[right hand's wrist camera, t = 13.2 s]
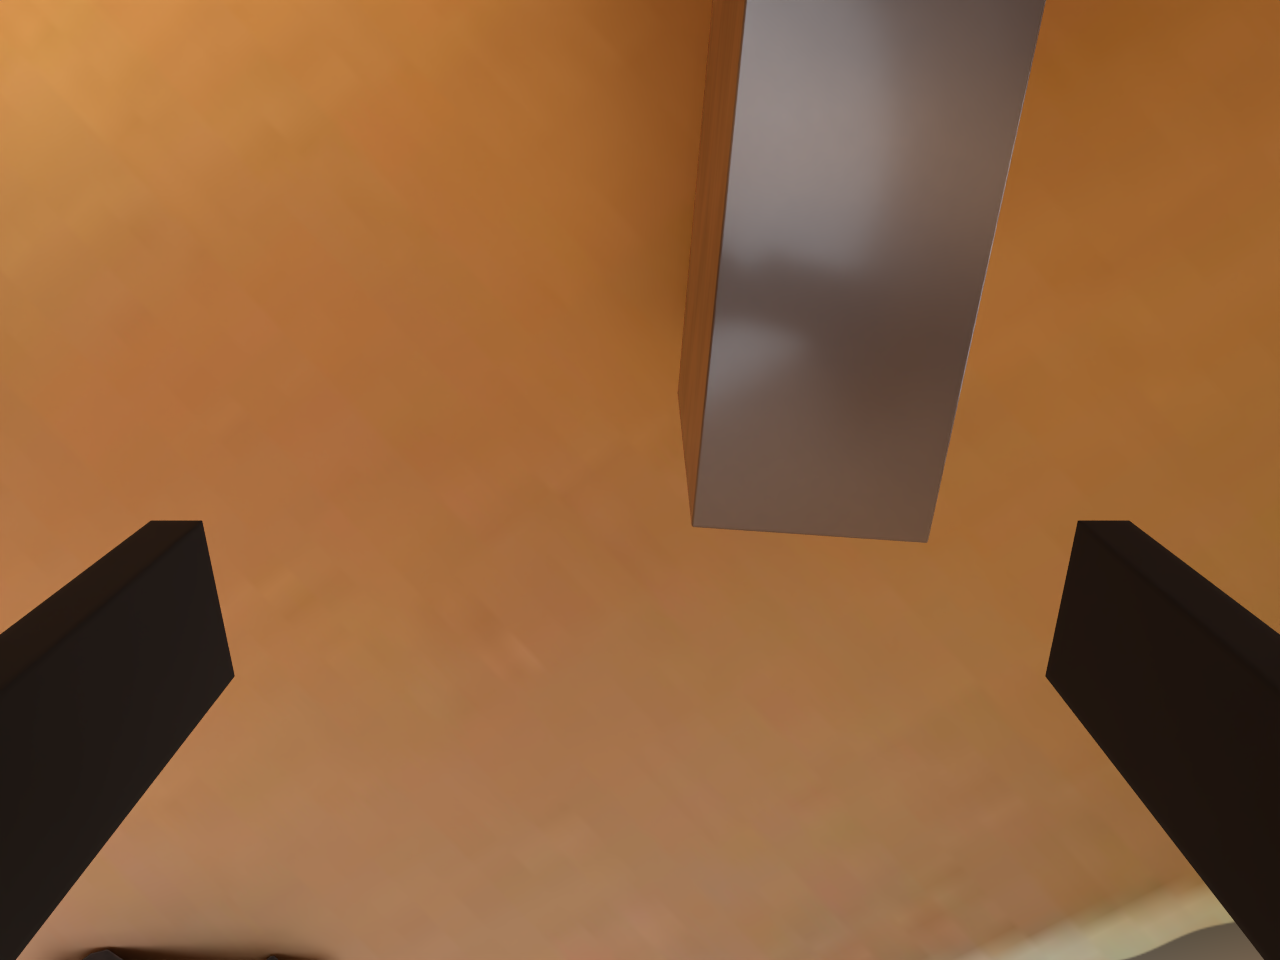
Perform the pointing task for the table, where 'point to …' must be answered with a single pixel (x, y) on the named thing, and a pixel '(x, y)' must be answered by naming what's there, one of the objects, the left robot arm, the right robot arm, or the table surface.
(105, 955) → the tool
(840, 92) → the box
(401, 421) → the table surface
